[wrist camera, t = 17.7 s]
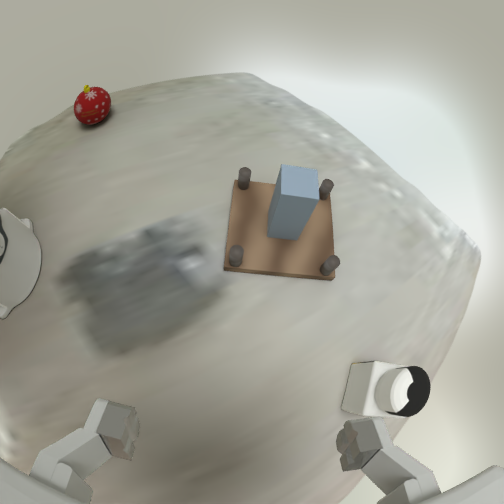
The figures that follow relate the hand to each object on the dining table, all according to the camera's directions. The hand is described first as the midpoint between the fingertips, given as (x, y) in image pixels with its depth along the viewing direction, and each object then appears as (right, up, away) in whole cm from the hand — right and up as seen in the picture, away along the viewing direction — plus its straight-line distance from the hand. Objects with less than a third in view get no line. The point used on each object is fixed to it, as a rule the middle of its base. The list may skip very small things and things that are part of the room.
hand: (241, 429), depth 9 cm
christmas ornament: (-34, +36, +42) cm, 65 cm away
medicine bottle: (+17, -13, +26) cm, 34 cm away
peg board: (+5, +10, +35) cm, 36 cm away
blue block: (+5, +11, +33) cm, 35 cm away
